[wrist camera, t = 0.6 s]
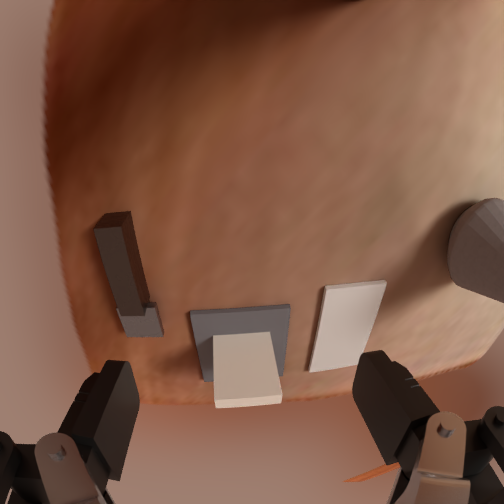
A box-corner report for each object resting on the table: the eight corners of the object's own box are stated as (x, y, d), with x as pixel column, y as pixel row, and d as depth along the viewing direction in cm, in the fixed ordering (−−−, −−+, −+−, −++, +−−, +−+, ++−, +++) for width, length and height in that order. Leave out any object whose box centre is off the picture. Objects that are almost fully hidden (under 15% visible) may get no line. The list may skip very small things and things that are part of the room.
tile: (213, 335, 30) (214, 400, 24) (269, 331, 31) (282, 394, 24) (214, 346, 31) (216, 408, 25) (269, 342, 32) (280, 403, 25)
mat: (190, 310, 29) (190, 314, 29) (289, 304, 30) (290, 308, 29) (204, 378, 35) (204, 381, 35) (282, 372, 36) (282, 375, 36)
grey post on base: (97, 213, 23) (84, 229, 20) (139, 209, 23) (130, 225, 21) (130, 324, 30) (125, 344, 27) (165, 323, 30) (161, 344, 28)
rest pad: (324, 285, 29) (326, 289, 29) (384, 279, 30) (386, 283, 29) (308, 369, 36) (309, 372, 36) (356, 361, 37) (358, 364, 37)
